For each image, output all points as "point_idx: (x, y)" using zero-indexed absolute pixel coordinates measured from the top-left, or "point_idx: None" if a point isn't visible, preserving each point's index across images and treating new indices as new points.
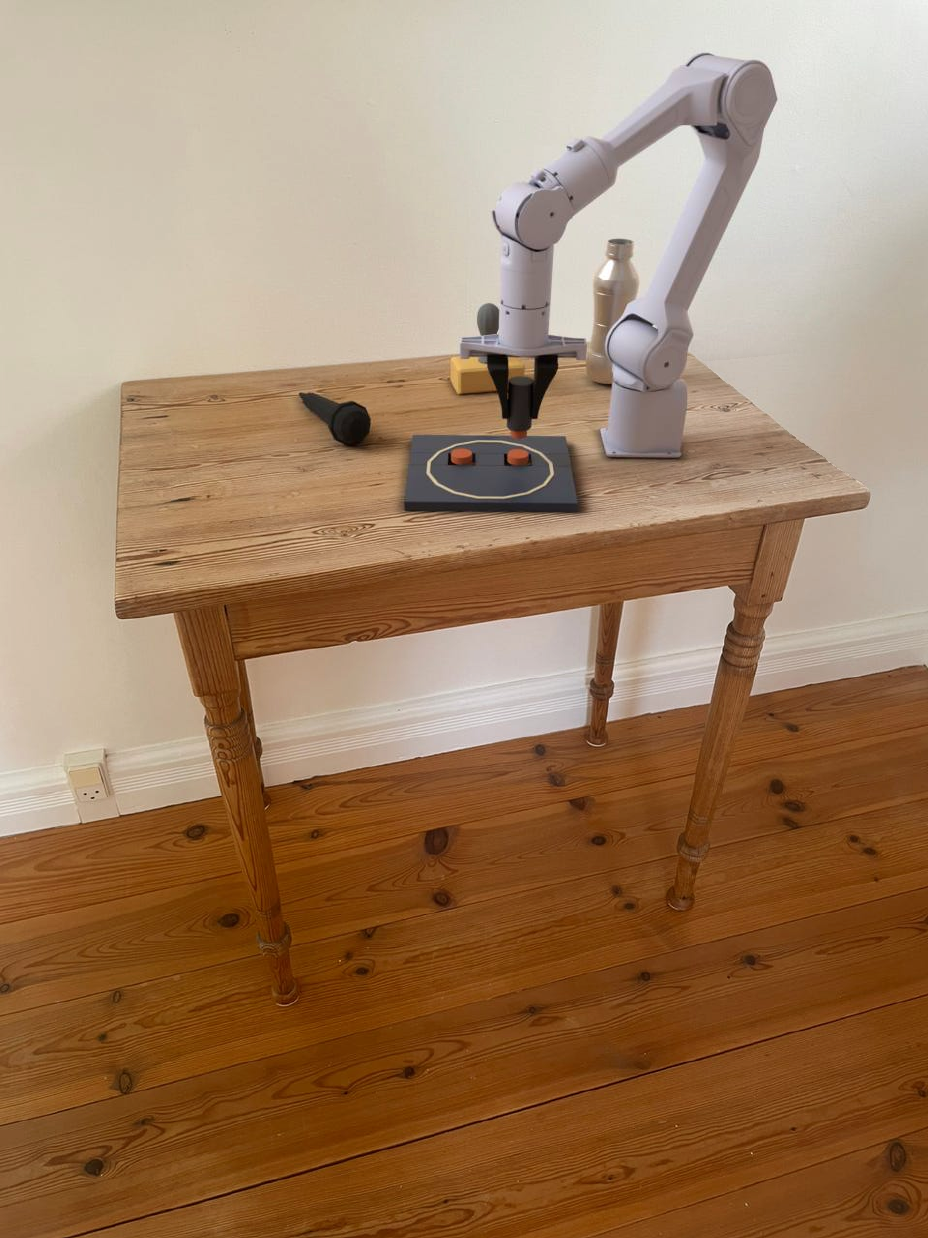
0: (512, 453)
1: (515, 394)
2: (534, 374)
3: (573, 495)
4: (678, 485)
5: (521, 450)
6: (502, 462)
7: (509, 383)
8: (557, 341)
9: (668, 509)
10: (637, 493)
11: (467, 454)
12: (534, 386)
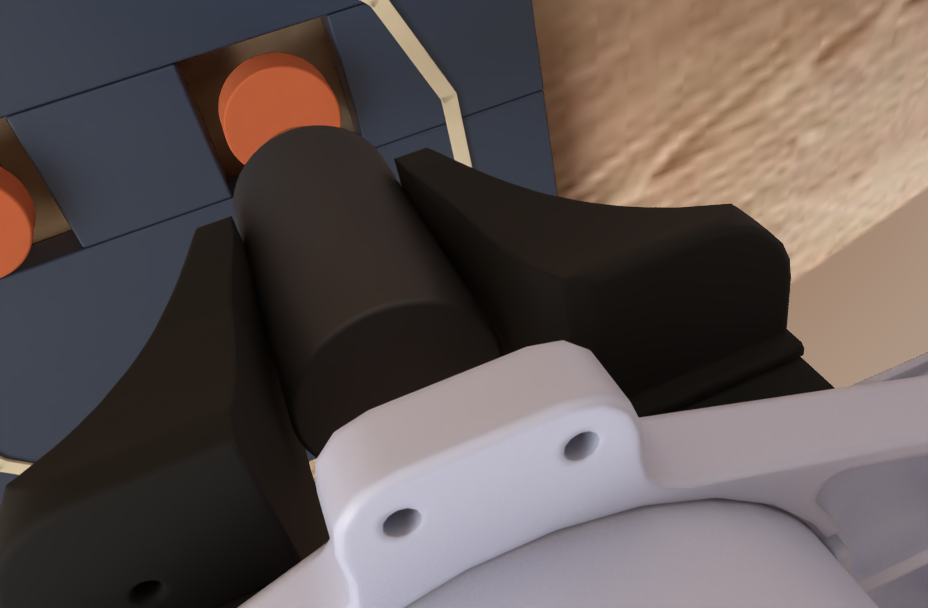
0: (253, 135)
1: None
2: (507, 291)
3: None
4: (916, 14)
5: (290, 82)
6: (210, 171)
7: (314, 453)
8: (922, 564)
9: (835, 200)
10: (765, 131)
11: (7, 236)
12: (491, 312)
